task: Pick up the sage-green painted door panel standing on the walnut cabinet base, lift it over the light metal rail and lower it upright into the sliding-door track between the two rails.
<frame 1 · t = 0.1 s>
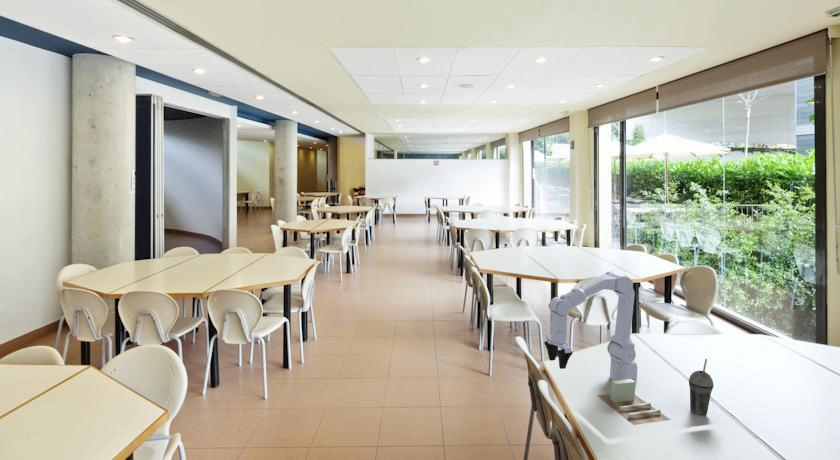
hand: (557, 364, 172), 10 cm above the table, tool pointing down, fingers open, 7 cm apart
beverage cup: (698, 415, 155), on the table
track base: (631, 410, 158), on the table
door panel: (622, 399, 163), point 1 cm above the table, touching track base
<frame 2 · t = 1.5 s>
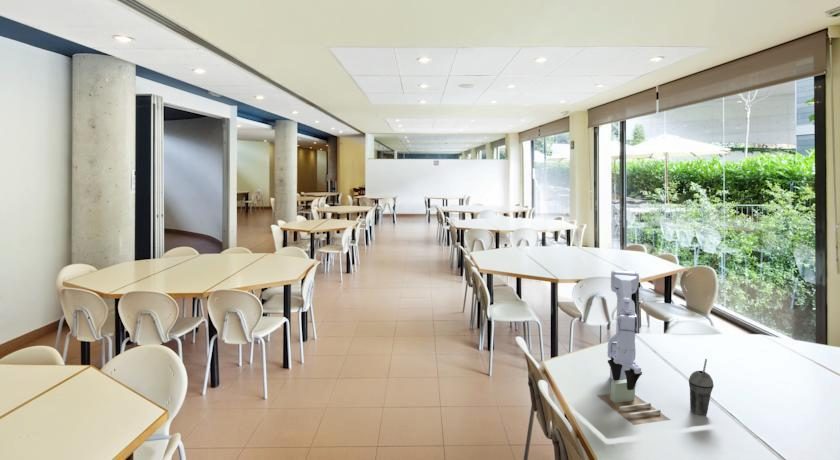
hand: (623, 384, 162), 7 cm above the table, tool pointing down, fingers open, 7 cm apart
nothing on the table moved.
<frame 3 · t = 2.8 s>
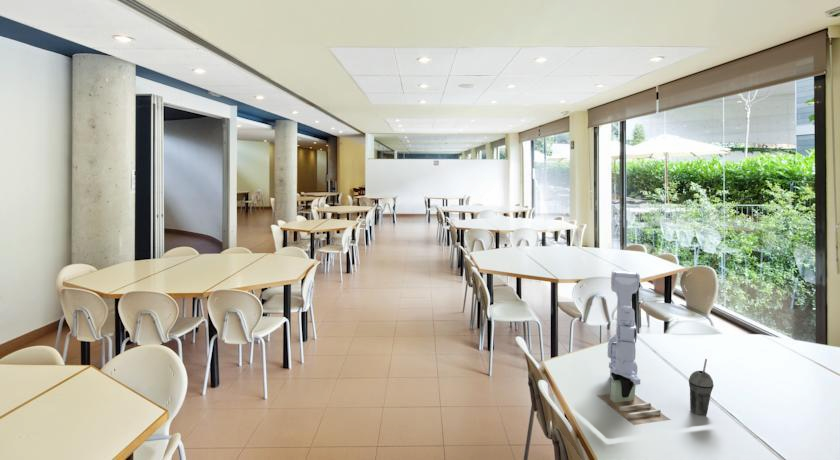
hand: (622, 394, 163), 3 cm above the table, tool pointing down, fingers closed on door panel, 2 cm apart
door panel: (622, 399, 163), point 1 cm above the table, touching gripper, track base
everything else where it was.
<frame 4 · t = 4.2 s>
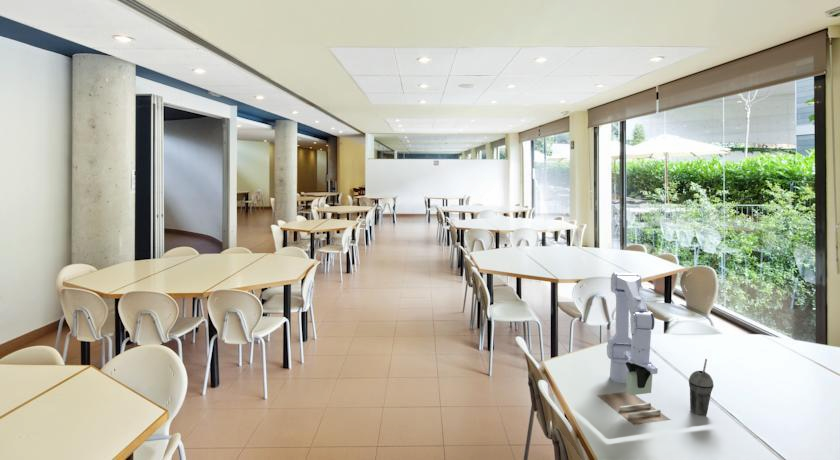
hand: (638, 385, 155), 10 cm above the table, tool pointing down, fingers closed on door panel, 2 cm apart
door panel: (638, 392, 155), point 8 cm above the table, touching gripper
everything else where it was.
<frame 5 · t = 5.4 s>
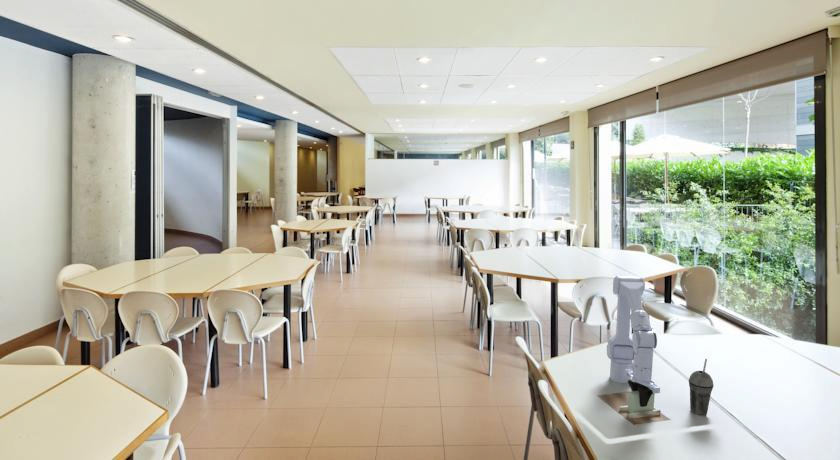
hand: (640, 403, 154), 4 cm above the table, tool pointing down, fingers closed on door panel, 2 cm apart
door panel: (640, 411, 154), point 1 cm above the table, touching gripper
everything else where it was.
when the fingers open (4 cm above the table, at t = 5.7 s): door panel stays where it is, resting on track base.
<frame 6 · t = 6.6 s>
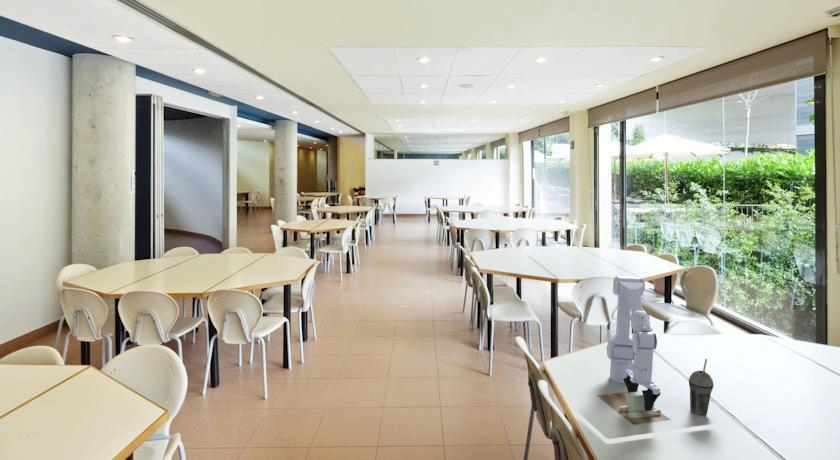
hand: (640, 404, 154), 4 cm above the table, tool pointing down, fingers open, 7 cm apart
door panel: (640, 412, 155), point 1 cm above the table, touching track base
everything else where it was.
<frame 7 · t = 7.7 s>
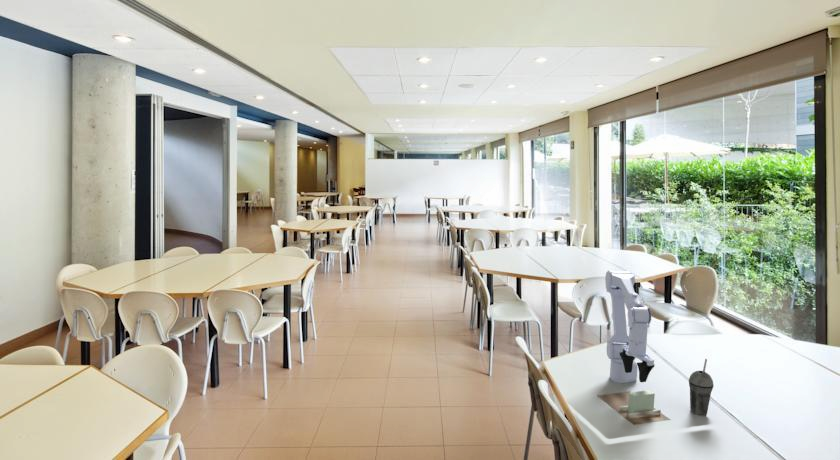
hand: (635, 376, 162), 10 cm above the table, tool pointing down, fingers open, 7 cm apart
nothing on the table moved.
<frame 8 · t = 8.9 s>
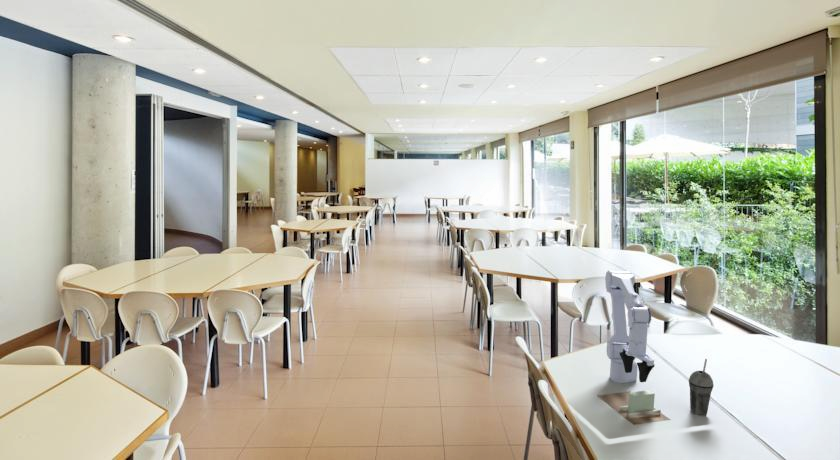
hand: (635, 376, 162), 10 cm above the table, tool pointing down, fingers open, 7 cm apart
nothing on the table moved.
at the end: door panel 0.3 cm from the target spot, point 1.2 cm above the table; door panel tilted 0°; the gripper is holding nothing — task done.
